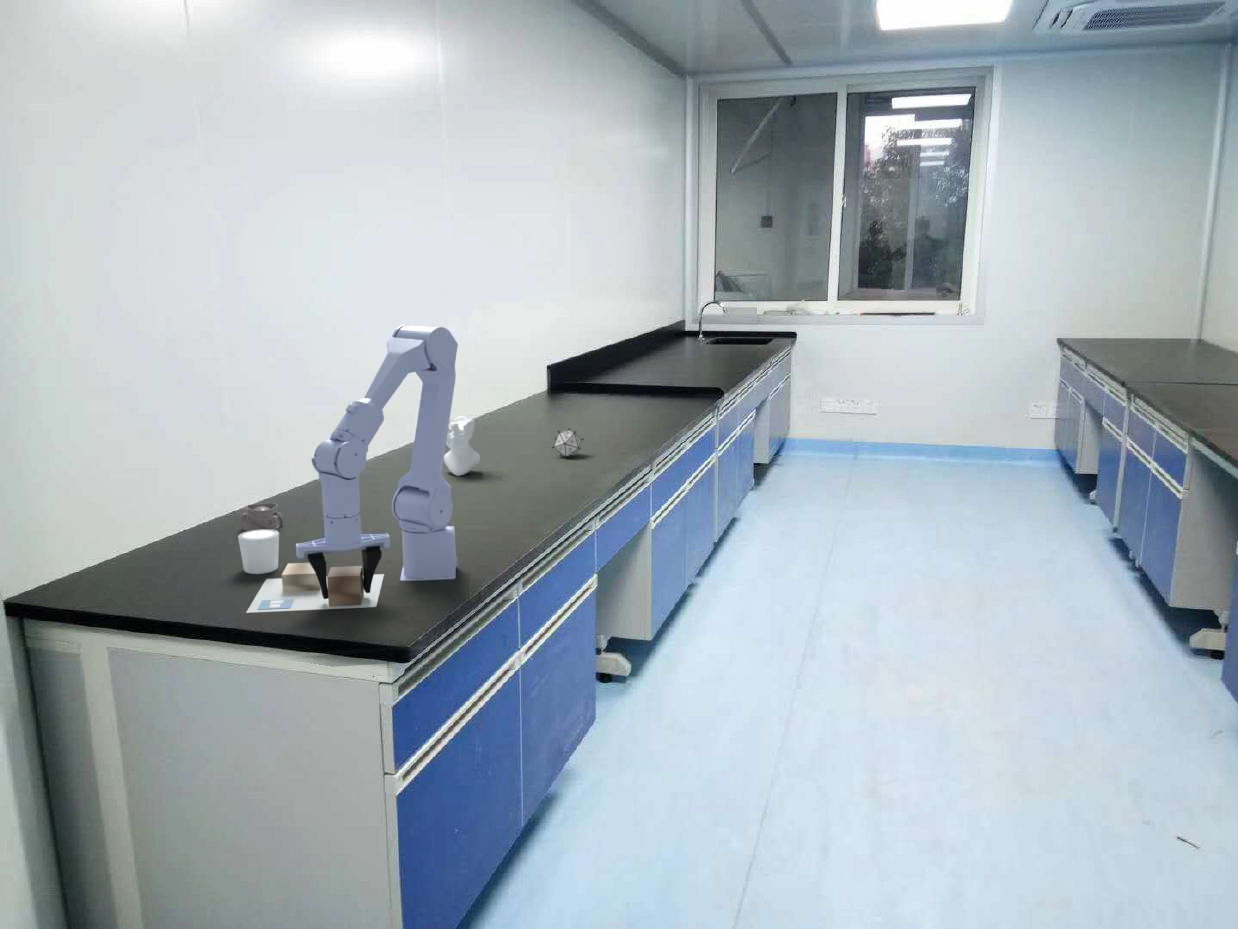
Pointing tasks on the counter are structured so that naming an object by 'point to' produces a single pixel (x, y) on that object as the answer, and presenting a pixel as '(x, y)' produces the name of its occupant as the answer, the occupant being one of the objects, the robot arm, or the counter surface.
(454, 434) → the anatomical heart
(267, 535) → the white tapered cup
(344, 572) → the walnut block
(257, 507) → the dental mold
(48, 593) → the counter surface
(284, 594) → the plate
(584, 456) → the counter surface
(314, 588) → the maple base block
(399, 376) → the robot arm
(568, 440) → the game die
